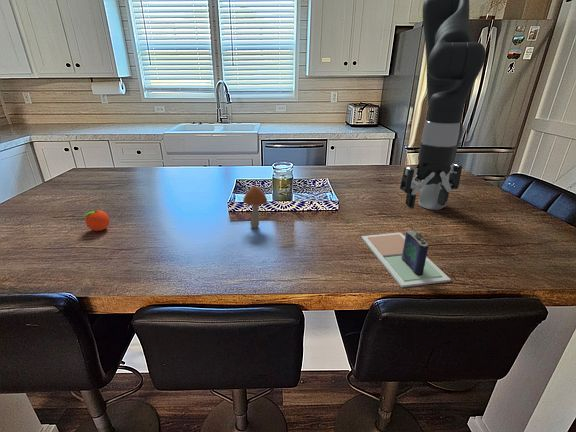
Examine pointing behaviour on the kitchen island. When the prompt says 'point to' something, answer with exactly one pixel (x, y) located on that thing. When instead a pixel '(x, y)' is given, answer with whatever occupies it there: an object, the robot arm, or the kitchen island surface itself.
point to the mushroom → (255, 203)
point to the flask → (415, 252)
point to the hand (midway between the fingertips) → (425, 205)
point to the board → (401, 261)
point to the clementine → (97, 220)
